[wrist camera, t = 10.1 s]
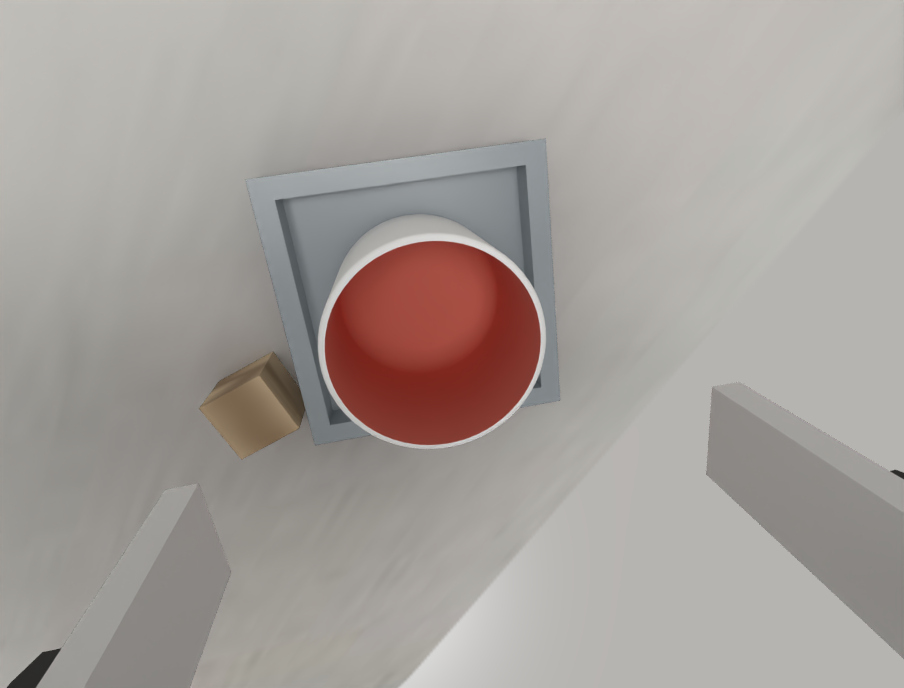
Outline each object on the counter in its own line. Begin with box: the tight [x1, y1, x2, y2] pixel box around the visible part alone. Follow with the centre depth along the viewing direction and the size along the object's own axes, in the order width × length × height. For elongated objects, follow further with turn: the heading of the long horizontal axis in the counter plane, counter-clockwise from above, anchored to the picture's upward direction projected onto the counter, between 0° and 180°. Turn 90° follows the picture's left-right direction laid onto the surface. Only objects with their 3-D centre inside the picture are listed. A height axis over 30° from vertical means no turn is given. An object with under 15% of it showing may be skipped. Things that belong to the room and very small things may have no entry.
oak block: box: [199, 352, 305, 460], centre depth 31 cm, size 4×4×4 cm
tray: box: [245, 139, 560, 445], centre depth 30 cm, size 16×16×3 cm
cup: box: [318, 214, 546, 449], centre depth 26 cm, size 10×10×10 cm
